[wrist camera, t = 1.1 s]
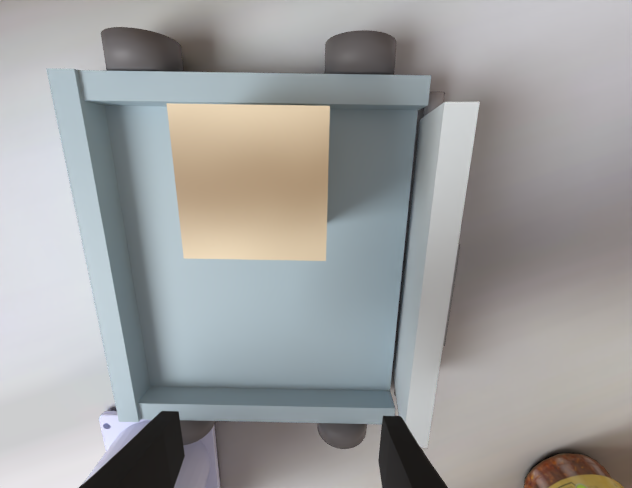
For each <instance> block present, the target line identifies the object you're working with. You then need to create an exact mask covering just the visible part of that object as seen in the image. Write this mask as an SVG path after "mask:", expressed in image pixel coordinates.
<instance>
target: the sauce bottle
mask: <svg viewBox="0 0 632 488" xmlns="http://www.w3.org/2000/svg"><path fill="white" fill-rule="evenodd" d="M524 483H525V484H524V488H624V487H623V486H622V485H620V484H619V483H618V482H617V481H615V480H613V479H612V478H611V477H610V475H609V474H608V472H607V471H606V470H605V468H604V467H603V466H601V465H600V464H599V463H598V462H597V461H596V460H594V459H592V458H590V457H589V456H586V455H581V454H571V453H562V454H557V455H554V456H553V457H550V458H548V459H545V460H543V461H542V462H541V463H539V464H537V465H536V466H535V467H533V468H532V470H531V471H530V472H529V473H528V474H527V477H526V478H525V482H524Z"/></svg>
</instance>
